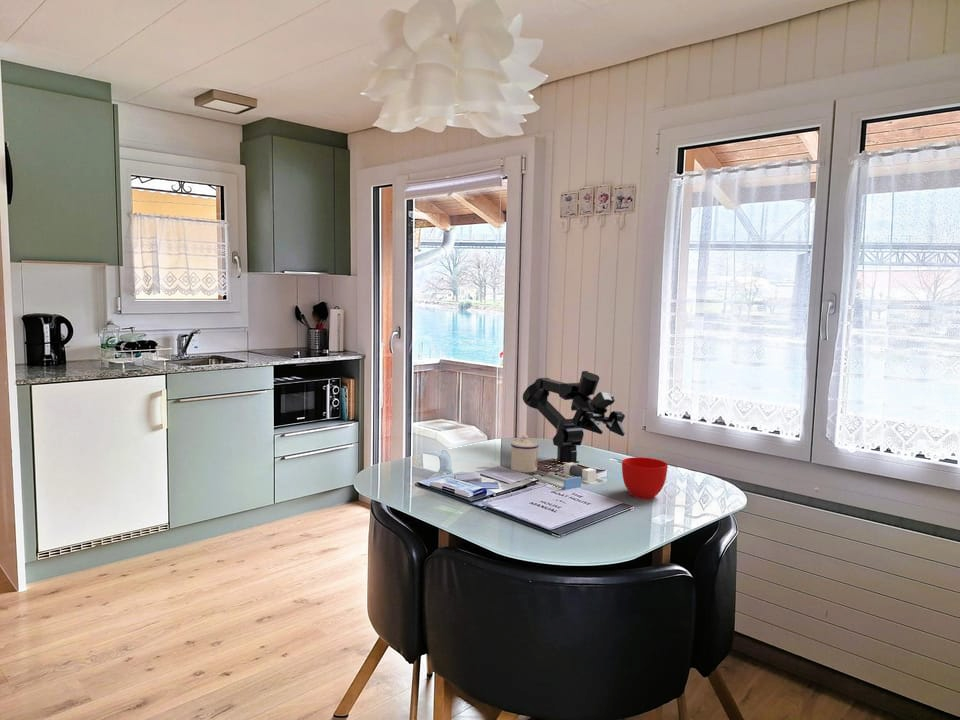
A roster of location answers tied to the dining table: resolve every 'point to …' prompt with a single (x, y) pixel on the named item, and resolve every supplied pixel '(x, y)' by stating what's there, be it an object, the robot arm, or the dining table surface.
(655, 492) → the ceramic cup
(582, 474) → the cream and grey dumbbell
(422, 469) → the dining table surface
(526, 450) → the cream lidded jar
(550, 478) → the white ribbed plate
